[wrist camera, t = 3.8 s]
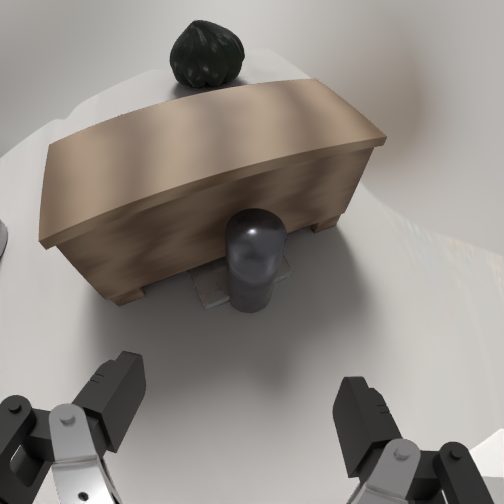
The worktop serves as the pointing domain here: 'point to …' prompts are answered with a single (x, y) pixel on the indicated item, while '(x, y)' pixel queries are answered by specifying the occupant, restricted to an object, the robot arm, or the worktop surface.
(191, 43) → the squash
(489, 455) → the milk
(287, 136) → the cabinet
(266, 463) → the worktop surface
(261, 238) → the joystick
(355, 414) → the robot arm
